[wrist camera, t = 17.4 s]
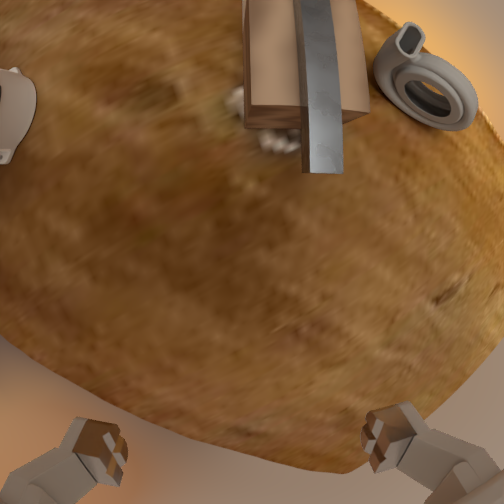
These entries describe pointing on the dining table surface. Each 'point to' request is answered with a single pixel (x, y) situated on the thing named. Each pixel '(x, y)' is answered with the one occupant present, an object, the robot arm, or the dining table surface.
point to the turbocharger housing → (426, 70)
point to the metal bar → (318, 88)
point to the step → (296, 64)
